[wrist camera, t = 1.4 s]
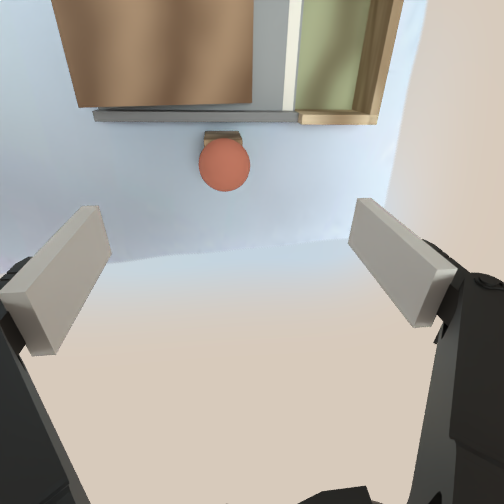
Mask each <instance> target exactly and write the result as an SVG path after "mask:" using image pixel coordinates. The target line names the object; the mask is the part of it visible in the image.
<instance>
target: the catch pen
mask: <svg viewBox="0 0 504 504" xmlns="http://www.w3.org/2000/svg"><path fill="white" fill-rule="evenodd" d="M403 2H404V0H304V7H303V18H302V30H301V42H300V54H299V66H298V78H297V89H296V101H295V111H296V112H298V113H299V116H298V122H299V123H300V124H313V125H376V124H377V120H378V115H379V111H380V106H381V102H382V97H383V92H384V88H385V83H386V79H387V74H388V70H389V65H390V61H391V56H392V52H393V47H394V42H395V38H396V33H397V29H398V24H399V20H400V15H401V11H402V6H403Z"/></svg>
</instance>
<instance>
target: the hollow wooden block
mask: <svg viewBox="0 0 504 504" xmlns="http://www.w3.org/2000/svg"><path fill="white" fill-rule="evenodd" d="M220 138H228V139H232V140H234V141H236V142H238V143H239V144H240V145H242V138H241V136H240V133H239V131H205V135H204V147H205V146H206V145H207V144H208V143H210V142H211V141H213V140H216V139H220Z"/></svg>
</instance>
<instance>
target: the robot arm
mask: <svg viewBox="0 0 504 504" xmlns="http://www.w3.org/2000/svg"><path fill="white" fill-rule="evenodd" d="M348 244H349V246H350V247H351V248H352V250H353V251H354V252H355V253H356V255H357V256H358V257H359V258H360V260H361V261H362V262H363V264H364V265H365V266H366V268H367V269H368V270H369V272H370V273H371V274H372V275H373V277H374V278H375V279H376V280H377V282H378V283H379V284H380V286H381V287H382V288H383V290H384V291H385V292H386V294H387V295H388V296H389V297H390V299H391V300H392V301H393V303H394V304H395V305H396V307H397V308H398V309H399V310H400V312H401V313H402V314H403V315H404V317H405V318H406V319H407V321H408V322H409V323H410V325H411V326H412V327H413V328H418V327H431V326H432V324H433V322H434V319H435V317H436V315H438V316H439V317H440V318H441V319H442V321H443V324H442V326H441V328H440V330H439V332H438V334H437V336H436V339H435V340H434V343H435V344H437V349H436V354H435V360H434V365H433V371H432V376H431V382H430V387H429V393H428V399H427V405H426V410H425V415H424V421H423V426H422V432H421V438H420V443H419V449H418V454H417V460H416V465H415V471H414V477H413V482H412V488H411V492H410V496H409V499H408V502H407V504H504V282H502V281H501V280H499V279H497V278H495V277H492V276H490V275H487V274H482V273H470V272H468V271H467V270H466V269H465V268H463V267H462V266H461V265H460V264H458V263H457V262H456V261H455V260H453V259H452V258H449V256H448V255H447V254H446V253H444V252H442V250H441V249H439V248H438V247H437V246H435V245H434V244H432V243H430V242H428V241H426V240H424V239H421V238H420V237H418V236H417V235H416V234H415V233H413V232H412V231H411V230H410V229H408V228H407V227H406V226H405V225H404V224H402V223H401V222H400V221H399V220H397V219H396V218H395V217H394V216H392V215H391V214H390V213H389V212H388V211H386V210H385V209H384V208H383V207H381V206H380V205H379V204H378V203H377V202H375V201H374V200H373V199H372V198H357V202H356V207H355V212H354V217H353V221H352V226H351V231H350V236H349V240H348ZM111 254H112V253H111V249H110V246H109V242H108V238H107V235H106V231H105V227H104V224H103V220H102V216H101V213H100V209H99V206H82V207H81V208H80V209H79V210H78V211H77V212H76V213H75V214H74V215H73V216H72V217H71V218H70V219H69V220H68V221H67V222H66V223H65V224H64V225H63V226H62V227H61V228H60V229H59V230H58V231H57V232H56V233H55V234H54V235H53V236H52V238H51V239H50V240H49V241H48V242H47V243H46V244H45V245H44V246H43V247H42V248H41V249H40V250H39V251H38V252H37V253H36V254H35V255H34V256H33V257H27V258H25V259H23V260H22V261H20V262H18V263H16V264H15V265H14V266H13V267H12V268H11V269H10V270H9V271H8V272H7V274H5V275H4V276H3V277H2V278H1V279H0V504H90V501H89V499H88V497H87V496H86V493H85V491H84V489H83V487H82V485H81V483H80V481H79V478H78V476H77V474H76V472H75V470H74V468H73V466H72V464H71V462H70V459H69V458H68V455H67V453H66V451H65V449H64V447H63V445H62V443H61V441H60V439H59V436H58V434H57V432H56V430H55V428H54V426H53V424H52V422H51V420H50V417H49V415H48V414H47V411H46V409H45V408H44V405H43V403H42V401H41V399H40V397H39V394H38V393H37V390H36V388H35V386H34V384H33V382H32V380H31V378H30V375H29V373H28V371H27V369H26V367H25V365H24V363H23V361H22V359H21V357H20V356H19V353H20V352H21V350H22V349H23V347H24V346H25V345H26V346H27V348H28V350H29V352H30V354H31V355H32V356H43V355H56V353H57V351H58V349H59V348H60V346H61V344H62V342H63V340H64V339H65V337H66V335H67V333H68V331H69V330H70V328H71V326H72V324H73V323H74V321H75V319H76V317H77V315H78V314H79V312H80V310H81V308H82V306H83V304H84V303H85V301H86V299H87V297H88V296H89V294H90V292H91V290H92V288H93V287H94V285H95V283H96V281H97V279H98V278H99V276H100V274H101V272H102V270H103V269H104V267H105V265H106V263H107V261H108V260H109V258H110V256H111ZM298 504H382V503H379V502H376V501H372V500H371V499H370V496H369V493H368V490H367V487H366V486H360V487H352V488H345V489H336V490H329V491H322V492H320V493H318V494H316V495H314V496H312V497H310V498H308V499H306V500H304V501H302V502H300V503H298Z"/></svg>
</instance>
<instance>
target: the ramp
mask: <svg viewBox="0 0 504 504" xmlns="http://www.w3.org/2000/svg"><path fill="white" fill-rule="evenodd" d="M51 2H52V6H53V10H54V14H55V17H56V21H57V25H58V29H59V33H60V37H61V41H62V45H63V48H64V52H65V56H66V60H67V64H68V68H69V72H70V76H71V79H72V83H73V87H74V91H75V95H76V99H77V103H78V107H79V108H83V107H121V106H159V105H197V104H235V103H252V74H253V13H254V0H51Z"/></svg>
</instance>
